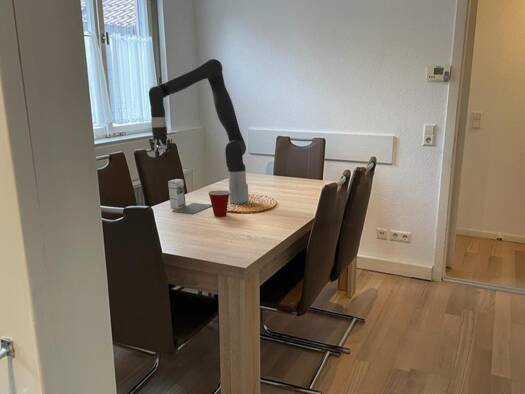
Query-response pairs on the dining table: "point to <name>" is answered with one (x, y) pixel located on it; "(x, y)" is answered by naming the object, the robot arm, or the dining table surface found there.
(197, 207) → the charcoal placemat
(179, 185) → the syrup box
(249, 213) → the dining table surface
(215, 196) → the plastic cup
